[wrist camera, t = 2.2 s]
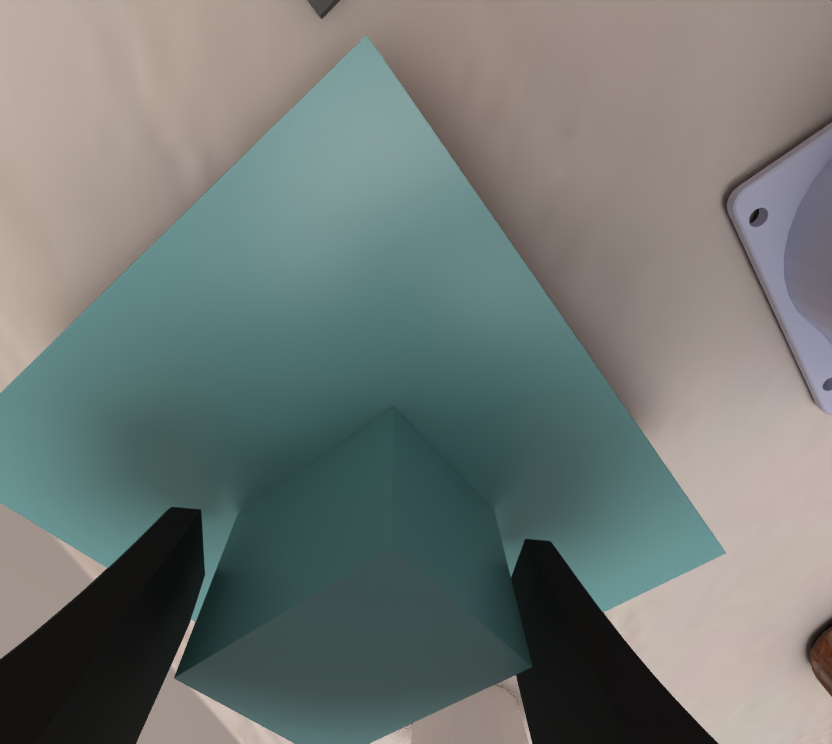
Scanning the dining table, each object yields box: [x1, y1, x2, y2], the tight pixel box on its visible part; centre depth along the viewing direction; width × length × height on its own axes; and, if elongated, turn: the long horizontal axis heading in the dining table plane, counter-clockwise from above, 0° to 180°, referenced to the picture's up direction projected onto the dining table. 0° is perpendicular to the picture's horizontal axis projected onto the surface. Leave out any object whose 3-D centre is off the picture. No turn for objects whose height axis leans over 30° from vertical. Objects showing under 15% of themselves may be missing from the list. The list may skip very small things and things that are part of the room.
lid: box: [0, 35, 726, 744], centre depth 11 cm, size 15×13×6 cm
